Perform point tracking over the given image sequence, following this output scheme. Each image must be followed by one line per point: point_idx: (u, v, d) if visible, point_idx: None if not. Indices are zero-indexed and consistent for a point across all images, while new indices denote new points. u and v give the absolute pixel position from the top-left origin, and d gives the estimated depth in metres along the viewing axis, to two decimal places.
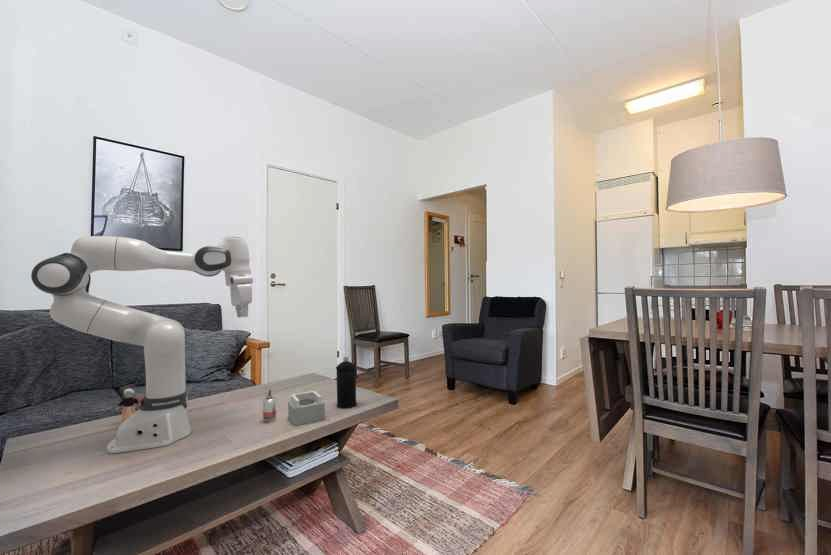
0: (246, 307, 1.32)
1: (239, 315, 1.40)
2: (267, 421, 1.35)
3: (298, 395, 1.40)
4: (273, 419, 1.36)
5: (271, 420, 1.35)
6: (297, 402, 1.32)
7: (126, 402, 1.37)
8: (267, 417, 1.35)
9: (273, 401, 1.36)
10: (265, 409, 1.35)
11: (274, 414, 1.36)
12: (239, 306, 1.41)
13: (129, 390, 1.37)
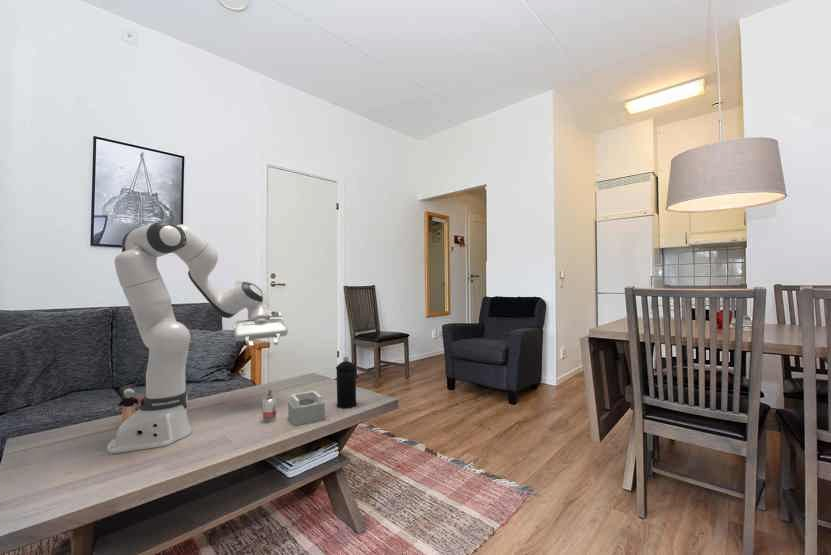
0: (279, 337, 1.53)
1: None
2: (267, 421, 1.35)
3: (298, 395, 1.40)
4: (273, 419, 1.36)
5: (271, 420, 1.35)
6: (297, 402, 1.32)
7: (126, 402, 1.37)
8: (267, 417, 1.35)
9: (273, 401, 1.36)
10: (265, 409, 1.35)
11: (274, 414, 1.36)
12: (248, 339, 1.48)
13: (129, 390, 1.37)
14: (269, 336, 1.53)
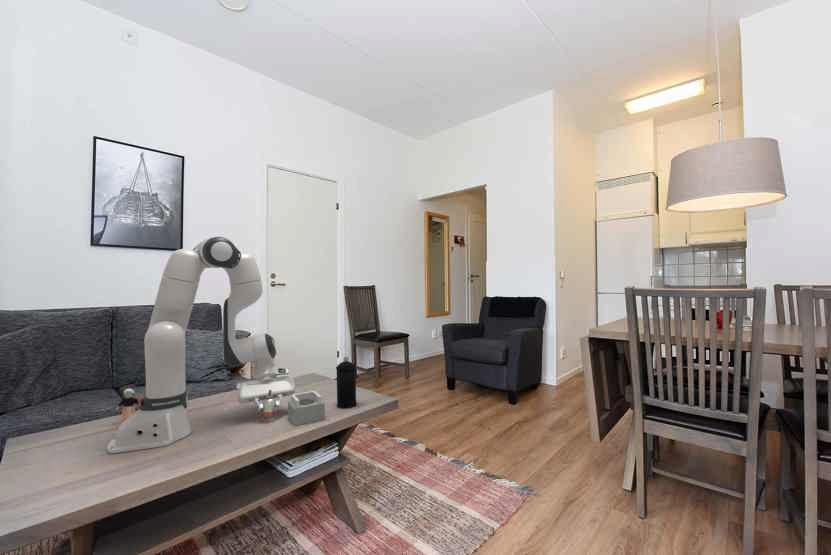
0: (281, 398, 1.41)
1: None
2: (267, 421, 1.35)
3: (298, 395, 1.40)
4: (273, 419, 1.36)
5: (271, 420, 1.35)
6: (297, 402, 1.32)
7: (126, 402, 1.37)
8: (267, 416, 1.35)
9: (273, 401, 1.36)
10: (265, 409, 1.35)
11: (274, 414, 1.36)
12: None
13: (129, 390, 1.37)
14: (275, 396, 1.42)
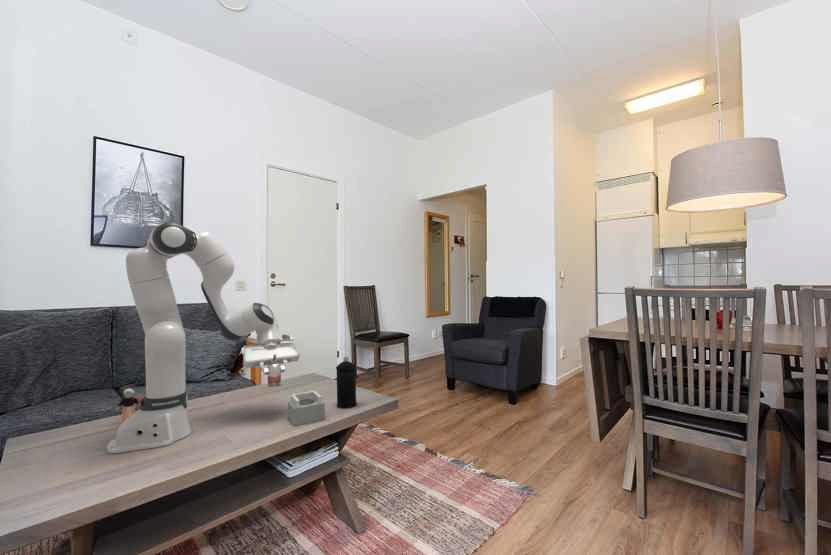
0: None
1: None
2: (272, 385, 1.35)
3: (298, 395, 1.40)
4: (278, 384, 1.36)
5: (276, 384, 1.36)
6: (297, 402, 1.32)
7: (126, 402, 1.37)
8: (272, 381, 1.35)
9: (278, 366, 1.37)
10: (270, 373, 1.35)
11: (279, 379, 1.37)
12: None
13: (129, 390, 1.37)
14: (280, 362, 1.42)
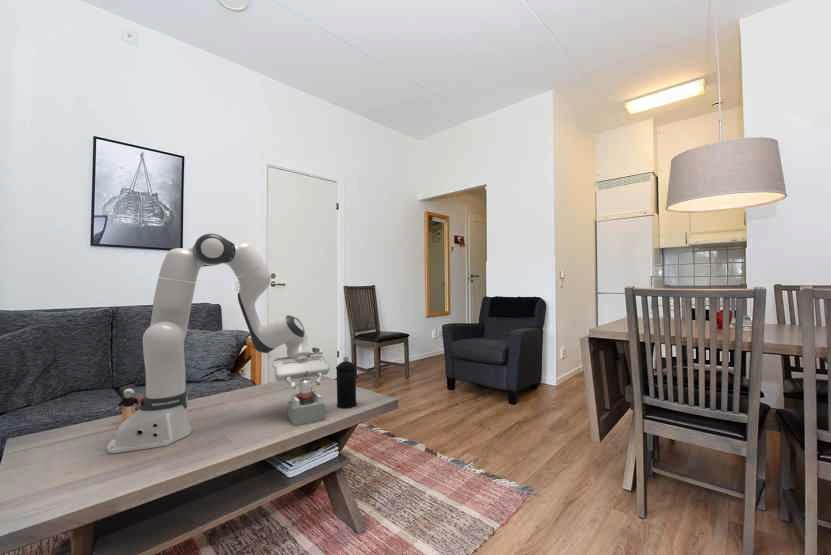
0: None
1: None
2: (304, 402, 1.36)
3: (298, 395, 1.40)
4: (310, 400, 1.37)
5: (308, 401, 1.36)
6: (297, 402, 1.32)
7: (126, 402, 1.37)
8: (304, 397, 1.36)
9: (310, 382, 1.37)
10: (302, 390, 1.36)
11: (310, 395, 1.37)
12: None
13: (129, 390, 1.37)
14: (310, 375, 1.43)
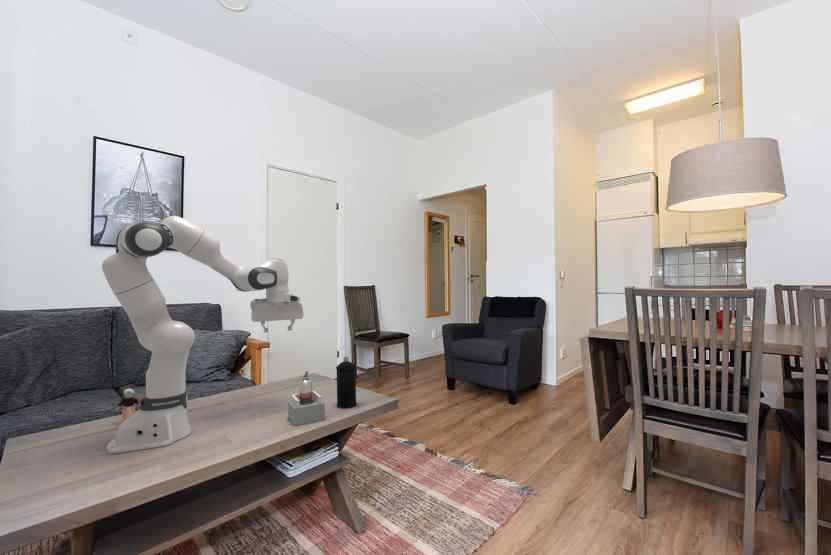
0: None
1: None
2: (304, 402, 1.36)
3: (298, 395, 1.40)
4: (310, 400, 1.37)
5: (308, 401, 1.36)
6: (297, 402, 1.32)
7: (126, 402, 1.37)
8: (304, 397, 1.36)
9: (310, 382, 1.37)
10: (302, 390, 1.36)
11: (310, 395, 1.37)
12: (264, 322, 1.50)
13: (129, 390, 1.37)
14: None
